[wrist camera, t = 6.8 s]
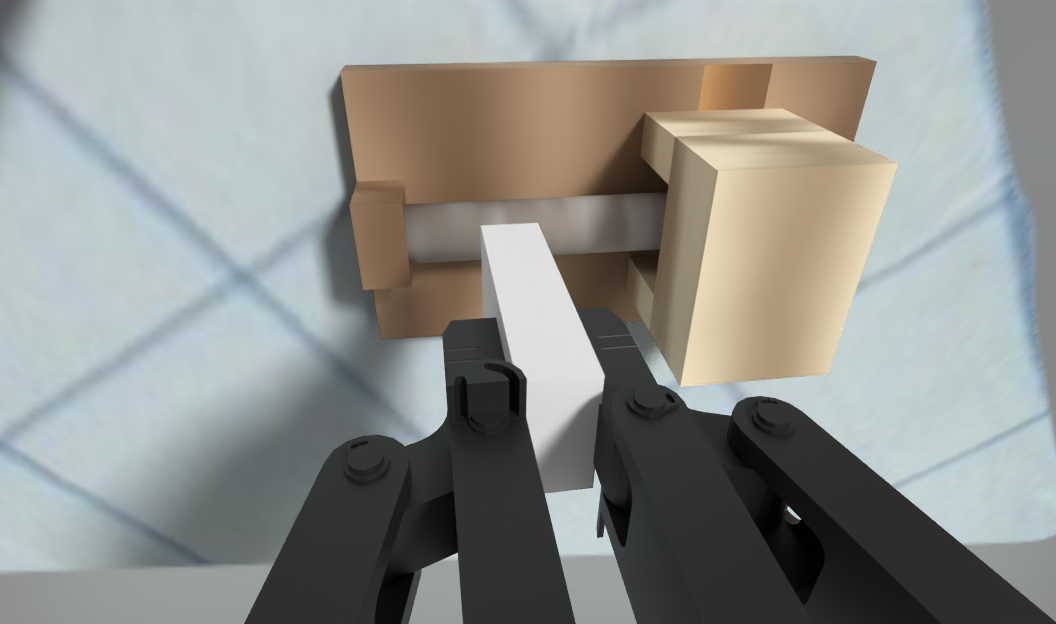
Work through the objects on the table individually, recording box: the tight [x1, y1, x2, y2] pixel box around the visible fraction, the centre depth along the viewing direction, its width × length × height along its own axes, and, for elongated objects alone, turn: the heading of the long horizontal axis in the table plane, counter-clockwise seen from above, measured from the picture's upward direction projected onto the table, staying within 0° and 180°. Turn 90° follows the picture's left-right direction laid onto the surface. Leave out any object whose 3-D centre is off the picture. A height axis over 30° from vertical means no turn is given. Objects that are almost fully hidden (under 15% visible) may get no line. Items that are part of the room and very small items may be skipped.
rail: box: [340, 56, 877, 340], centre depth 22 cm, size 18×10×4 cm, turn 89°
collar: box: [626, 108, 898, 387], centre depth 20 cm, size 5×7×6 cm
